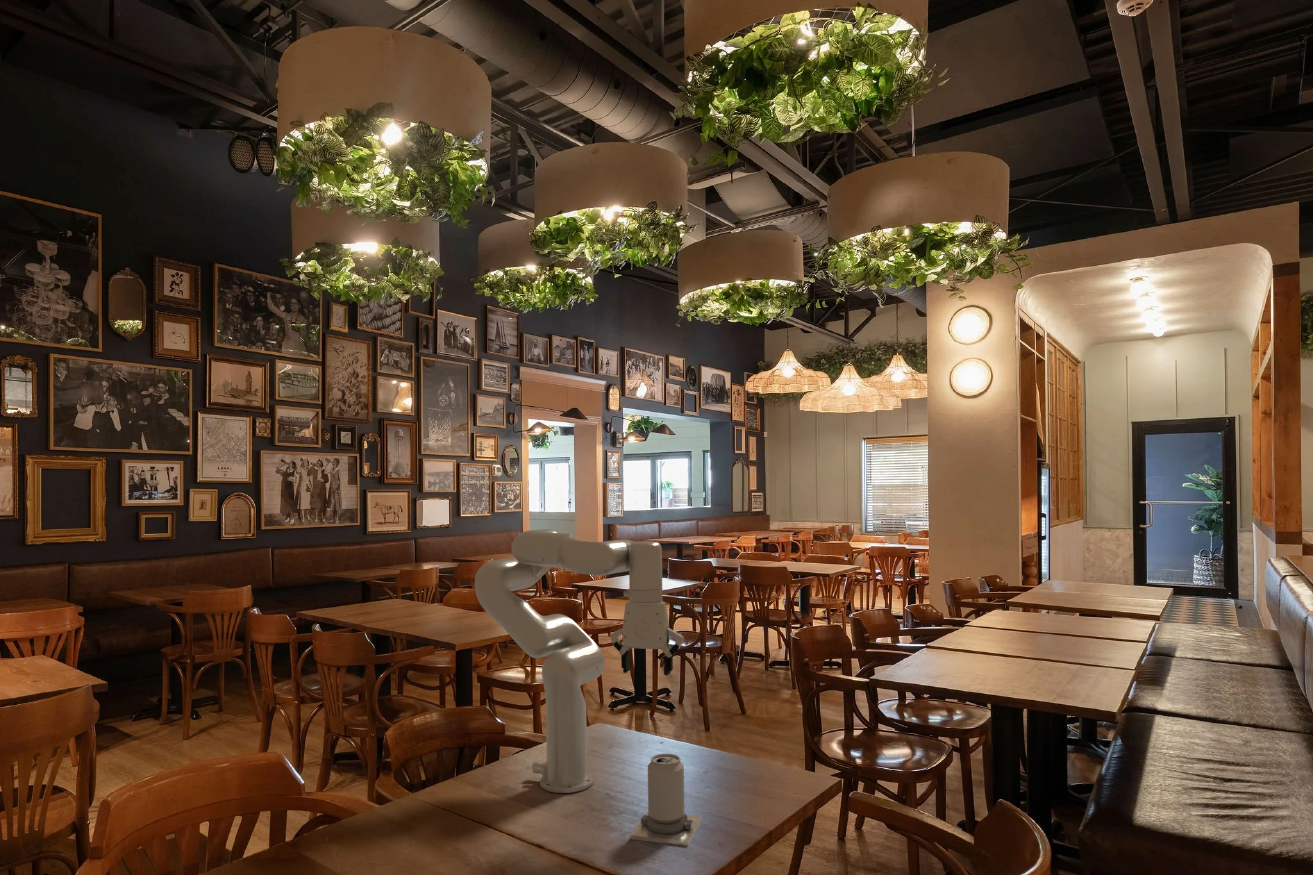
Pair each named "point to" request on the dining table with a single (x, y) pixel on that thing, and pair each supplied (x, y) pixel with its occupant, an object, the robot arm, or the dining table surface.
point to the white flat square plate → (667, 830)
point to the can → (666, 788)
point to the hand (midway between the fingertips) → (647, 672)
